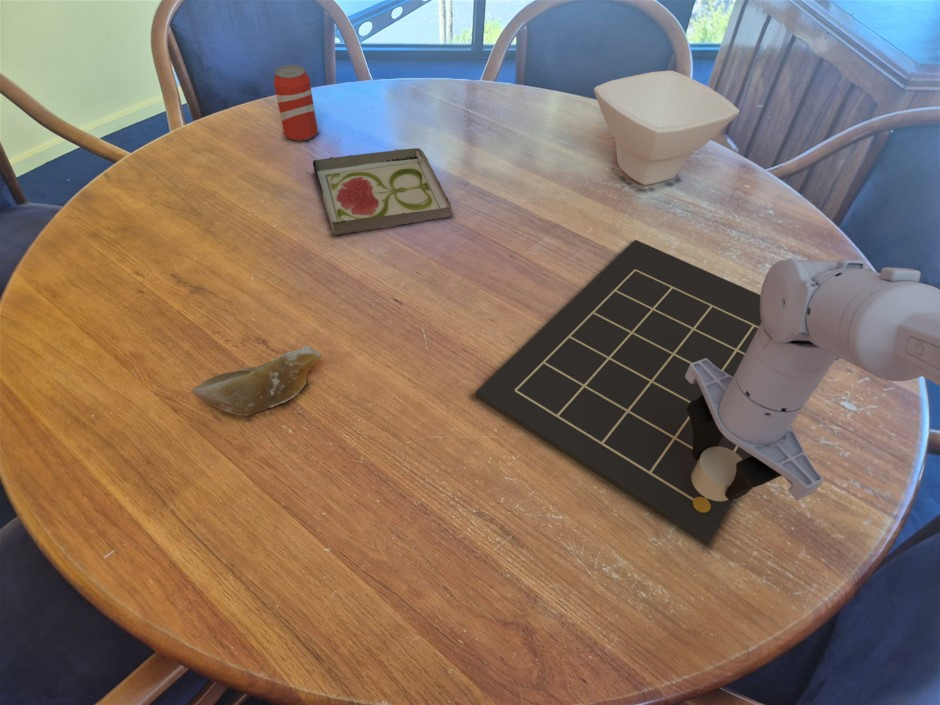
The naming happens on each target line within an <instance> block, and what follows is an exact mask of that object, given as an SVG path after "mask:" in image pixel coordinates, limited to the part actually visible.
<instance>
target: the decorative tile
mask: <svg viewBox="0 0 940 705" xmlns="http://www.w3.org/2000/svg"><path fill="white" fill-rule="evenodd" d="M312 166H313V171H314V174H315V177H316V180H317V183H318V186H319V189H320V193H321V196H322V199H323V203H324V206H325V209H326V213H327V215H328V216H327V217H328V219H329V221H330V222H329V223H330V226H331V228H332V234H333V235H335V236H341V235H345V234H353V233H358V232H364V231H372V230H379V229H386V228H392V227H396V226H401V225H408V224H412V223H419V222H424V221H430V220H436V219H442V218H443V219H444V218H449V217H451V216H452V208H451V206H452V204H451V202H450V201H449V198H448V197H447V195H446V194H445V191H444V188H442V186H441V183H440V181H439V179H438V178H437V176H436V173H435V171H434V169H433V168H432V166H431V164H430V162H429V159H428V157H427V156H426V154H425V152H424V151H423V150H422V149H421V148H419V147H415V148H413V147H412V148H404V149H397V148H396V149H393V150H386V151H377V152H370V153H369V152H368V153H361V154H360V153H359V154H350V155H344V156H343V155H342V156H336V157H334V156H329V158H328V157H327V158H320V159H313V160H312Z"/></svg>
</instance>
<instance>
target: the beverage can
mask: <svg viewBox="0 0 940 705" xmlns="http://www.w3.org/2000/svg"><path fill="white" fill-rule="evenodd" d="M274 74H275V75H274V80H273V86H274V91H275V95H276V100H277V101H276V102H277V105H278V110H279V114H280V115H279V116H280V120H281V126H282V130H283V134H284V136H285V137H287V138H289V139H290V140H293V141H297V142H304V141H309V140H310V139H312V138H313V137H314V136H316V135H317V134H318V124H317V123H318V122H317V118H316V112H315V111H316V110H315V104H314V99H313V91H312V86H311V81H310V80H311V79H310V76H309V75H308V74H307V72H306V70H305V67H303V66H301V65H297V64H288V65H281V66H279V67H277V68H276V69H275V73H274Z"/></svg>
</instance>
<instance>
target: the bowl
mask: <svg viewBox="0 0 940 705" xmlns="http://www.w3.org/2000/svg"><path fill="white" fill-rule="evenodd" d="M593 93H594V95H595V97H596V100H597V103H598V106H599V109H600V111H601V114H602V116H603V117H602V118H603V119H604V122H605V124H606V127H607V130H608V132H609V133H610V134H611V135H612V137H613V138H614V141H615V151H616V161H617V165H618V167H619V168H620V170H621V171H622V172H623V173H624V174H626V175H627V176H628V177H629V178H631V179H632V180H634V181H635V182H637V183H639V184H641V185H644V186H646V185H653V184H654V185H655V184H657V183H661V182H664V181H667V180H671V179H673V178H675V177H676V176H677V175H679V173H680V171H682V168H683V167H684V166H685V164H686V163H687V161H688V160H689V158H690V157H691V155H692V154H693V153H694V152H696V151H697V150H700V149H702V148H703V147H704V146H706V145H707V144H708V143H709V142H710V141H711V140H712V139H713V138H714V137H715V136H716V135H718V134H719V133H720V132H721V131H722V130H723V129H724V128H725V127H726V126H727V125H728V124H730V123H731V121H733V120H734V119H735V118H736V117H737V116H739V114H740V110H739V108H738V107H736V106H735V105H734V104H733V103H732V102H731V101H730V100H728V99H727V98H726V97H725V96H723V95H722V94H720V93H719V92H717V91H715V90H714V89H712V88H711V87H709V86H707V85H706V84H704V83H701V82H700V81H698V80H695V79H693V78H692V77H690V76H688V75H685V74H682V73H679V72H677V71H675V70H659V71H651V72H646V73H640V74H635V75H630V76H626V77H622V78H617V79H613V80H609V81H607V82H604V83H601V84H599V85H597V86H595V87H594V88H593Z"/></svg>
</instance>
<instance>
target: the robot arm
mask: <svg viewBox="0 0 940 705" xmlns="http://www.w3.org/2000/svg"><path fill="white" fill-rule="evenodd" d="M921 275H922V273H921V271H920V270H917V269H912V268H908V267H887V266H885V267H882V269H881V270H880V272H877V271H875V270H873V269H872V268H871V267H870V266H869V265H868V264H867V263H866V262H865V261H864V260H860V259H853V258H840V259H838V260H819V259H818V260H817V259H816V260H815V259H797V258H796V259H795V258H792V257H791V258H787V259H780V260H778V261H775V263H773V264H772V265H771V267H770V268H769V269H768V271H767V272H766V275H765V277H764V280H763V282H762V286H761V291H760V295H761V296H760V316H761V321H762V322H761V324H760V326H759V328H758V330H757V332H756V334H755V336H754V338H753V340H752V341H751V343H750V345H749V347H748V349H747V351H746V353H745V355H744V357H743V359H742V361H741V363H740V365H739V367H738V369H737V371H736V373H735V375H734V377H732V376H730V375H729V374H727V373H725V372H724V371H722V370H721V369H719V368H718V367H716V366H715V365H714V364H712V363H711V362H710V361H709V360H708V359H707V358H705V359H702V360H699V361H697V362H694V363H691V364H690V366H689V368H688V370H687V373H686V375H685V378H686V379H687V380H688V381H689V383H691V384H695V383H698V384H699V387H700V389H701V391H702V395H701V396H700V397H699V399H696V400H694V401H692V402H690V403H689V405H688V407H687V413H688V415H689V417H690V420H691V424H692V430H693V450H692V456H693V458H694V459H695V460H698V459H699V457H700V456H701V454H702V452H703V451H704V450H706V449H708V448H710V447H715V446H718V445H719V443H720V441H721V439H722V438H723V436H725V437H726V438H727V439H728V440H730V441H731V442H733V443H734V444H736V445H737V446H739V447H740V448H742V449H743V450H745V451H746V452H748V453H749V454H751V455H752V456H750V457H748V458H746V459H744V460H741V461H739V462H737V464H736V474H735V477H734V480H733V482H732V483H731V485H730V486H729V488H728V489H727V491H726V493H725V496H726V497H727V499H728V500H729V501H732V500H733V501H735V500H736V499H738V498H740V497H743V496H745V495H746V494H747V493H749V492H750V491H751V490H752V489H753V488H756V487H760V486H762V485H765V484H767V483H769V482H771V481H773V480H776V479H777V478H780V477H783V478H784V479H785V480H786V481H787V482H788V483H789V484H790V485H791V486H790V488H789V489H788V493H789V494H791V496H792V497H793V498H794V499H795V500H796V501H799V500H801V499H804V498H806V497H807V496H809V495H812V494H814V493H815V492H816V491H817V490H818V489H819V488H820V486H821V485H822V484H823V482H824V481H825V478H824V477H823V476H822V475H821V473H819V472H818V470H817V469H816V468H815V466H814V464H813V463H812V461H811V460H810V458H809V456H808V454H807V452H806V450H805V449H804V447H803V445H802V442H801V441H800V440H799V438H798V435H797V434H796V432H795V430H794V428H793V426H792V425H793V423H794V422H795V420H796V419H797V417H798V416H799V414H801V412H802V410H803V409H804V407H805V406H806V404H807V403H808V401H809V399H810V398H811V397H812V395H813V394H814V393H815V391H816V390H817V388H818V387H819V385H820V383H821V382H822V381H823V379H824V378H825V376H826V375H827V373H828V372H829V370H830V369H831V367H832V366H833V364H834V362H835V361H839V360H843V361H845V362H847V363H849V364H851V365H853V366H854V367H857V368H859V369H861V370H862V371H864V372H867V373H868V374H870V375H872V376H874V377H876V378H879V379H881V380H885V381H890V382H907V381H912V380H916V379H919V378H921V377H923V378H925V379H927V380H928V381H931V382H932V383H934V384H936V385H937V386H939V387H940V289H939V288H937V287H935V286H933V285H930V284H927V283H923V282H920V280H921Z"/></svg>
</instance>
